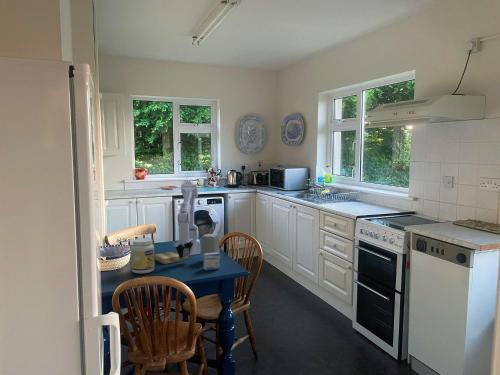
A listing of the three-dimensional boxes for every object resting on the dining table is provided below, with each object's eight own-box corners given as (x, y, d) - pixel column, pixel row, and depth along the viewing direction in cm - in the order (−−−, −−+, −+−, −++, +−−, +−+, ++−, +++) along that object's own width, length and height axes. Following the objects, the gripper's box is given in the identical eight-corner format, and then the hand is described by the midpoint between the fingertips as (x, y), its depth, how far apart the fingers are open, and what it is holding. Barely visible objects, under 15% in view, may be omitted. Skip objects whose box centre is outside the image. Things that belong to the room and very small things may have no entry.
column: (185, 258, 221) (185, 246, 221) (189, 259, 218) (189, 247, 218) (179, 259, 219) (179, 247, 218) (182, 261, 216) (182, 249, 215)
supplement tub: (148, 274, 198) (148, 243, 197) (127, 273, 201) (126, 242, 199) (158, 267, 210) (157, 237, 209) (138, 266, 213) (137, 237, 211)
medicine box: (205, 270, 205) (205, 255, 205) (203, 268, 209) (203, 253, 209) (219, 269, 209) (219, 253, 208) (216, 266, 213) (216, 251, 212)
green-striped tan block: (173, 256, 234) (173, 251, 234) (182, 260, 225) (182, 255, 224) (155, 259, 227) (154, 254, 226) (163, 264, 217) (163, 259, 217)
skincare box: (220, 260, 226) (220, 234, 224) (214, 263, 219) (213, 236, 218) (208, 258, 229) (207, 232, 228) (201, 261, 223) (201, 235, 221)
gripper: (186, 230, 226) (187, 252, 227) (170, 234, 213) (170, 258, 214) (196, 231, 222) (196, 254, 223) (179, 236, 209) (179, 260, 211)
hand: (184, 256), depth 218 cm, fingers closed on column, 5 cm apart
